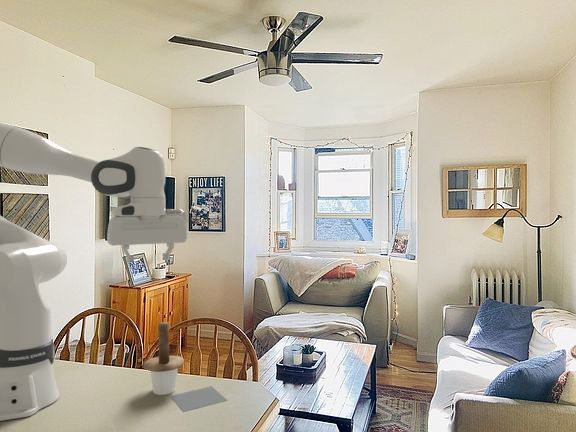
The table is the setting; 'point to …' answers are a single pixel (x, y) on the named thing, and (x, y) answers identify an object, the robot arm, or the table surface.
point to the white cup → (164, 381)
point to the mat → (197, 398)
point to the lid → (163, 353)
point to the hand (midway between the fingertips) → (148, 261)
